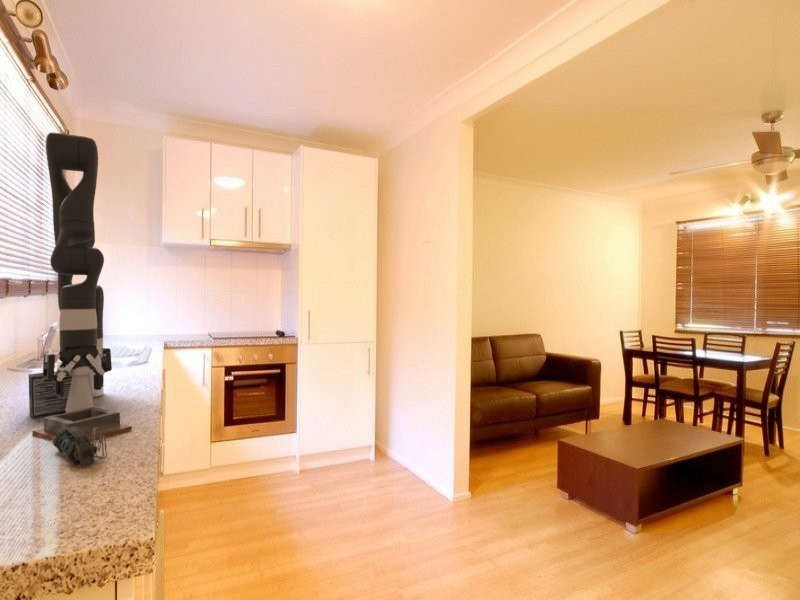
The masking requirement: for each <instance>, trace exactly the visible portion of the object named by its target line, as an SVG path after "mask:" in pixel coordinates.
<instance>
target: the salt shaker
mask: <svg viewBox="0 0 800 600" xmlns="http://www.w3.org/2000/svg"><path fill="white" fill-rule="evenodd" d="M89 374H90V367H89V366H82V367H78V368H76V369H71V370H70V372H69V375H70V376H72V381H71V386H70V391H69V396H68V400H67V405H66V409H65V410H66V413H68V412H72V411H77V410H82V409H86V408H91V407H95V405H94V400H93V399H94V398H92V395H91V390H90V385H89V381H88V376H87V375H89Z"/></svg>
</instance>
